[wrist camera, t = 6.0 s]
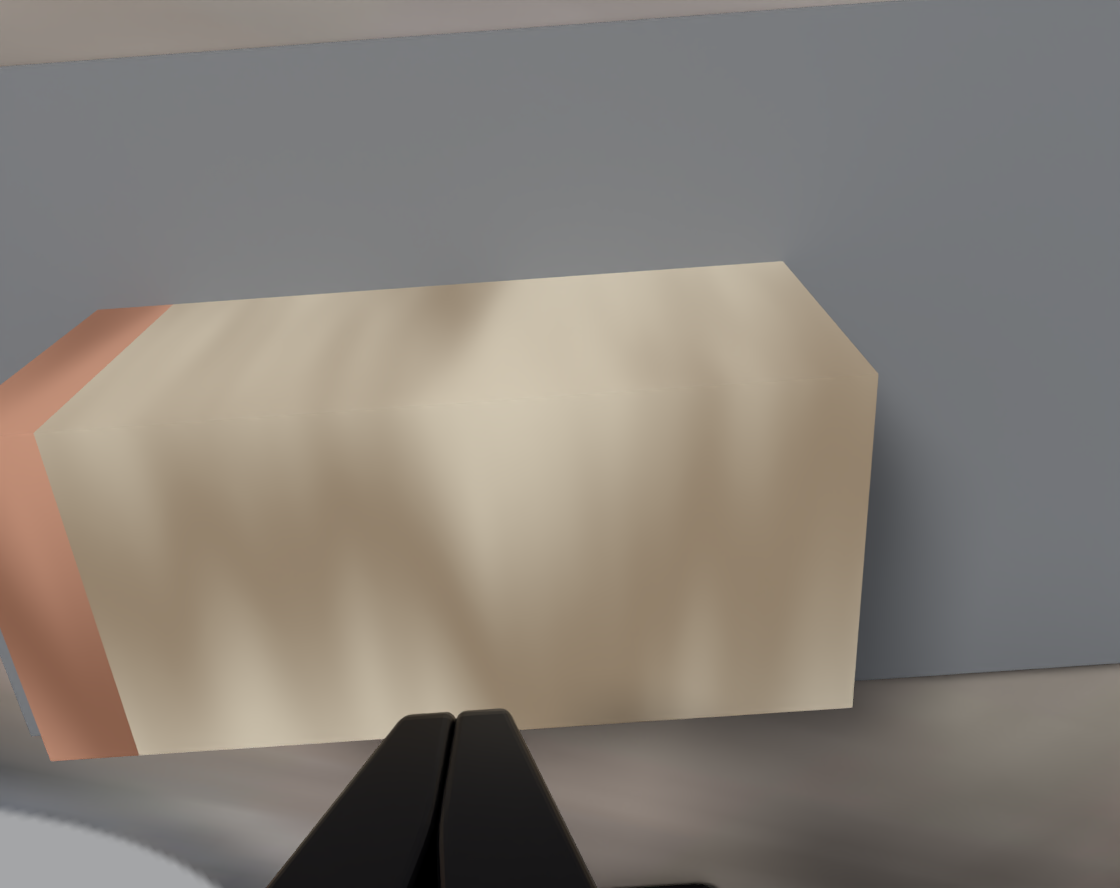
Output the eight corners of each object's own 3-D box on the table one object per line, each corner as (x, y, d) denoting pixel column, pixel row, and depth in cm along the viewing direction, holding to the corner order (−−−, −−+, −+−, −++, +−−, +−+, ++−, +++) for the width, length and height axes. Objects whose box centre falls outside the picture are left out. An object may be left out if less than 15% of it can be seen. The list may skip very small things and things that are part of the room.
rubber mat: (1127, 642, 16) (1143, 661, 16) (44, 715, 16) (31, 736, 16) (1277, -28, 12) (1305, -27, 12) (-193, 80, 12) (-221, 85, 12)
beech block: (852, 707, 11) (50, 760, 11) (774, 525, 15) (170, 566, 15) (878, 373, 9) (-71, 439, 9) (782, 261, 13) (97, 309, 13)
